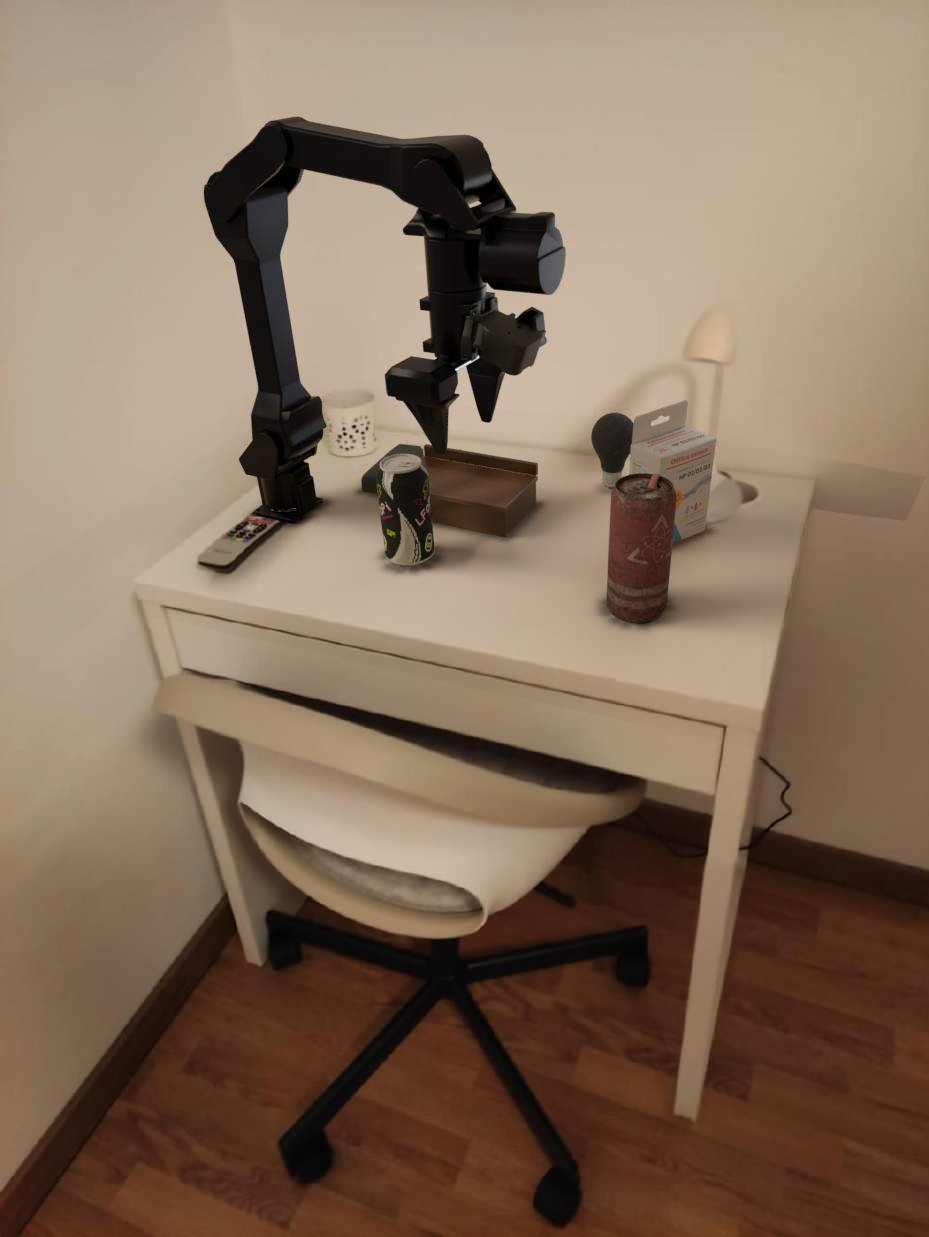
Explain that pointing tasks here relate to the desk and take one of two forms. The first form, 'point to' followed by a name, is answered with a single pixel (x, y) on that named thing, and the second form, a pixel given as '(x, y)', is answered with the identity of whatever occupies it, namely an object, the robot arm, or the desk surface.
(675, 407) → the ink box
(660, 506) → the can
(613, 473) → the light bulb
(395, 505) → the beverage can
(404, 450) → the usb drive
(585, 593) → the desk surface
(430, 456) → the step shelf
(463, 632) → the desk surface
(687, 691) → the desk surface
